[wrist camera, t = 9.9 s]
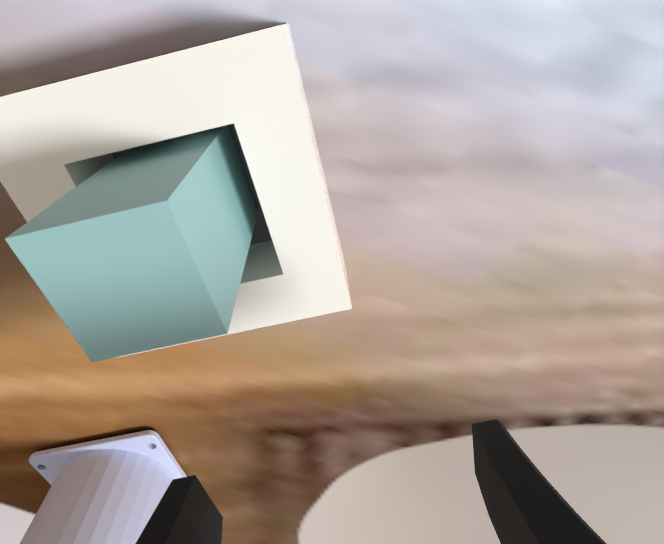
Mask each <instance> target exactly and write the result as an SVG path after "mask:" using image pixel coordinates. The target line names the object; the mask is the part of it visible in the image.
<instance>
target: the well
mask: <svg viewBox="0 0 664 544" xmlns="http://www.w3.org/2000/svg"><path fill="white" fill-rule="evenodd" d="M225 125H228V127H229V130H230V133H231V135H232V138H233V141H234V144H235V147H236V150H237V153H238V156H239V159H240V162H241V165H242V168H243V171H244V174H245V177H246V180H247V183H248V185H249V188H250V191H251V194H252V197H253V200H254V203H255V206H256V209H257V212H258V215H257V219H256V223H255V227H254V231H253V235H252V239H251V243H250V246H249V250H248V254H247V258H246V262H245V266H244V270H243V274H242V278H241V282H240V286H239V290H238V294H237V298H236V302H235V306H234V310H233V314H232V318H231V322H230V326H229V330H228V334H232V333H237V332H242V331H247V330H252V329H256V328H261V327H266V326H271V325H276V324H281V323H285V322H290V321H295V320H300V319H305V318H309V317H314V316H319V315H324V314H329V313H334V312H338V311H343V310H348V309H352V306H351V299H350V293H349V286H348V280H347V274H346V267H345V262H344V258H343V254H342V249H341V245H340V241H339V237H338V232H337V228H336V224H335V220H334V215H333V211H332V207H331V202H330V198H329V194H328V190H327V185H326V181H325V177H324V173H323V168H322V164H321V160H320V156H319V151H318V147H317V143H316V139H315V134H314V130H313V126H312V121H311V117H310V113H309V109H308V104H307V100H306V96H305V92H304V87H303V83H302V79H301V75H300V70H299V66H298V62H297V58H296V53H295V49H294V45H293V40H292V36H291V32H290V28H289V23H287V24H282V25H278V26H274V27H270V28H267V29H263V30H259V31H255V32H251V33H247V34H243V35H239V36H235V37H232V38H228V39H224V40H220V41H216V42H212V43H208V44H204V45H200V46H196V47H193V48H189V49H185V50H181V51H177V52H173V53H169V54H165V55H161V56H157V57H154V58H150V59H146V60H142V61H138V62H134V63H130V64H126V65H122V66H119V67H115V68H111V69H107V70H103V71H99V72H95V73H91V74H87V75H83V76H80V77H76V78H72V79H68V80H64V81H60V82H56V83H52V84H48V85H44V86H41V87H37V88H33V89H29V90H25V91H21V92H17V93H13V94H9V95H6V96H2V97H0V182H1V183H2V185H3V186H4V188H5V190H6V191H7V193H8V194H9V196H10V197H11V199H12V200H13V202H14V203H15V205H16V206H17V208H18V209H19V211H20V212H21V214H22V215H23V217H24V218H25V220H26V221H27V222H28V221H30V220H31V219H32V218H34V217H35V216H37V215H38V214H39V213H41V212H42V211H43V210H45V209H46V208H48V207H49V206H50V205H52V204H53V203H55V202H56V201H57V200H59V199H60V198H61V197H63V196H64V195H66V194H67V193H68V192H70V191H71V190H72V189H74V188H75V187H77V186H78V185H79V184H81V183H82V182H84V181H85V180H86V179H88V178H89V177H90V176H92V175H93V174H95V173H96V172H97V171H99V170H100V169H101V168H103V167H104V166H106V165H107V164H108V163H110V162H111V161H113V160H114V159H115V158H117V157H118V156H119V155H121V154H122V153H124V152H125V151H126V150H128V149H130V148H134V147H138V146H142V145H146V144H150V143H155V142H159V141H163V140H167V139H171V138H175V137H179V136H183V135H188V134H192V133H196V132H200V131H204V130H208V129H212V128H216V127H221V126H225ZM224 335H227V334H224ZM219 336H223V335H219ZM214 337H218V336H214ZM209 338H213V337H209ZM205 339H208V338H205ZM200 340H203V339H200ZM195 341H199V340H195ZM190 342H194V341H190ZM186 343H189V342H186ZM181 344H184V343H181ZM176 345H179V344H176ZM171 346H174V345H171ZM167 347H170V346H167ZM162 348H165V347H162ZM157 349H160V348H157ZM152 350H155V349H152ZM148 351H150V350H148ZM143 352H146V351H143ZM138 353H141V352H138ZM133 354H136V353H133ZM128 355H131V354H128ZM124 356H126V355H124ZM119 357H121V356H119ZM116 358H117V357H116Z"/></svg>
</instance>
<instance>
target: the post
mask: <svg viewBox="0 0 664 544" xmlns="http://www.w3.org/2000/svg"><path fill="white" fill-rule="evenodd" d="M257 215H258V212H257V209H256V206H255V203H254V200H253V197H252V194H251V191H250V188H249V185H248V183H247V180H246V177H245V174H244V171H243V168H242V165H241V162H240V159H239V156H238V153H237V150H236V147H235V144H234V141H233V138H232V135H231V133H230V130H229V127H228V125H225V126H221V127H216V128H212V129H208V130H204V131H200V132H196V133H192V134H188V135H183V136H179V137H175V138H171V139H167V140H163V141H159V142H155V143H150V144H146V145H142V146H138V147H134V148H130V149H128V150H126V151H125V152H124V153H122V154H121V155H119V156H118V157H117V158H115V159H114V160H113V161H111V162H110V163H108V164H107V165H106V166H104V167H103V168H101V169H100V170H99V171H97V172H96V173H95V174H93V175H92V176H90V177H89V178H88V179H86V180H85V181H84V182H82V183H81V184H79V185H78V186H77V187H75V188H74V189H72V190H71V191H70V192H68V193H67V194H66V195H64V196H63V197H61V198H60V199H59V200H57V201H56V202H55V203H53V204H52V205H50V206H49V207H48V208H46V209H45V210H43V211H42V212H41V213H39V214H38V215H37V216H35V217H34V218H32V219H31V220H30V221H28V222H27V223H26V224H24V225H23V226H21V227H20V228H19V229H17V230H16V231H14V232H13V233H12V234H10V235H9V236H8V237H6V238H5V240H6V242H7V243H8V245H9V246H10V247H11V249H12V250H13V252H14V253H15V254H16V256H17V257H18V259H19V260H20V261H21V263H22V264H23V266H24V267H25V269H26V270H27V271H28V273H29V274H30V276H31V277H32V278H33V280H34V281H35V283H36V284H37V285H38V287H39V288H40V290H41V291H42V293H43V294H44V295H45V297H46V298H47V300H48V301H49V302H50V304H51V305H52V307H53V308H54V310H55V311H56V312H57V314H58V315H59V317H60V318H61V319H62V321H63V322H64V324H65V325H66V326H67V328H68V329H69V331H70V332H71V334H72V335H73V336H74V338H75V339H76V341H77V342H78V343H79V345H80V346H81V348H82V349H83V350H84V352H85V353H86V355H87V356H88V358H89V359H90V360H91V362H95V361H100V360H105V359H109V358H114V357H119V356H124V355H128V354H133V353H138V352H143V351H148V350H152V349H157V348H162V347H167V346H171V345H176V344H181V343H186V342H190V341H195V340H200V339H205V338H209V337H214V336H219V335H224V334H228V330H229V326H230V322H231V318H232V314H233V310H234V306H235V302H236V298H237V294H238V290H239V286H240V282H241V278H242V274H243V270H244V266H245V262H246V258H247V254H248V250H249V246H250V243H251V239H252V235H253V231H254V227H255V223H256V219H257Z"/></svg>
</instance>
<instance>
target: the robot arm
mask: <svg viewBox="0 0 664 544" xmlns="http://www.w3.org/2000/svg"><path fill="white" fill-rule="evenodd" d="M472 433H473V448H474V462H475V474H476V477H477V480H478V483H479V486H480V489H481V493H482V496H483V498H484V501H485V505H486V508H487V511H488V514H489V517H490V519H491V521H492V524H493V526H494V528H495V531H496V533H497V535H498V538H499V540H500V542H501V544H606V543H605V542H604V541H603V540H602V539H601V538H600V537H599V536H598V535H597V534H596V533H595V532H594V531H593V530H592V529H591V528H590V527H589V526H588V524H587V523H586V522H585V521H584V520H583V519H582V518H581V517H580V516H579V515H578V514H577V513H576V512H575V511H574V510H573V508H572V507H571V506H570V505H569V504H568V503H567V502H566V501H565V500H564V499H563V497H562V496H561V495H560V494H559V493H558V492H557V491H556V490H555V489H554V487H553V486H552V485H551V484H550V483H549V482H548V481H547V479H546V478H545V477H544V476H543V475H542V474H541V473H540V472H539V470H538V469H537V468H536V467H535V466H534V464H533V463H532V462H531V460H530V459H529V458H528V457H527V456H526V454H525V453H524V452H523V451H522V449H521V448H520V447H519V446H518V444H517V443H516V442H515V440H514V439H513V438H512V437H511V435H510V434H509V432H508V431H507V430H506V428H505V427H504V425H503V424H502V423H501V422H500V421H498V420H492V421H486V422H481V423H475V424H472ZM29 463H30V464H31V465H32V466H33V467H34V468H35V469H36V470H37V471H38V472H39V473H40V474H41V475H42V476H43V477H44V478H45V479H46V480H47V481H48V483H49V484H50V485H51V488H50V490H49V491H48V493H47V495H46V497H45V499H44V500H43V502H42V504H41V506H40V508H39V510H38V511H37V513H36V515H35V517H34V519H33V521H32V523H31V524H30V526H29V528H28V530H27V532H26V533H25V535H24V537H23V539H22V541H21V542H20V544H221V539H222V520H223V517H222V516H221V514H220V513H219V511H218V509H217V508H216V506H215V505H214V503H213V502H212V500H211V499H210V497H209V496H208V494H207V493H206V491H205V490H204V488H203V487H202V485H201V483H200V482H199V480H198V479H197V477H196V476H195V475H194V476H189V477H187V476H186V475H185V473H184V472H183V470H182V469H181V467H180V466H179V464H178V463H177V461H176V460H175V458H174V457H173V455H172V454H171V452H170V451H169V449H168V448H167V446H166V445H165V443H164V442H163V440H162V439H161V437H160V436H159V434H158V433H157V432H155V431H153V430H146V431H141V432H136V433H130V434H125V435H120V436H115V437H110V438H105V439H99V440H94V441H89V442H84V443H79V444H74V445H69V446H63V447H58V448H53V449H48V450H43V451H38V452H34V453H32V454H31V456H30V458H29Z"/></svg>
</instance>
